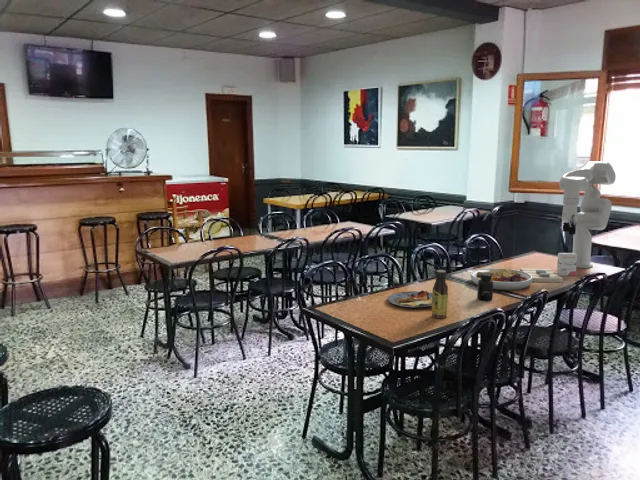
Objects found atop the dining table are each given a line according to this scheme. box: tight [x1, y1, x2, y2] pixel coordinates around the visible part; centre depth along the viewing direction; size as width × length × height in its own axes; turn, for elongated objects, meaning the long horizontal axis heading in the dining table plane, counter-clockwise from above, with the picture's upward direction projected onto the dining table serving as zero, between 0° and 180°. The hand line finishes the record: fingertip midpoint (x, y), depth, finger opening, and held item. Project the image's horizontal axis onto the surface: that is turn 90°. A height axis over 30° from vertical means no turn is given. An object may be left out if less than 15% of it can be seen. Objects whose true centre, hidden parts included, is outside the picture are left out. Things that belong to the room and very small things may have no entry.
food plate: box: [387, 290, 433, 308], centre depth 233 cm, size 25×23×4 cm
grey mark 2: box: [539, 273, 550, 277], centre depth 268 cm, size 4×4×2 cm
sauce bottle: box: [431, 269, 449, 319], centre depth 211 cm, size 6×6×20 cm
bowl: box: [470, 267, 533, 291], centre depth 263 cm, size 30×30×8 cm
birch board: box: [519, 267, 564, 283], centre depth 275 cm, size 22×16×2 cm
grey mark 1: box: [536, 270, 546, 274], centre depth 274 cm, size 4×4×2 cm
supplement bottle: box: [476, 273, 494, 302], centre depth 235 cm, size 7×7×12 cm
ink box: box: [556, 252, 577, 277], centre depth 278 cm, size 9×5×12 cm, turn 84°
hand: (568, 232), depth 275 cm, fingers open, 9 cm apart
